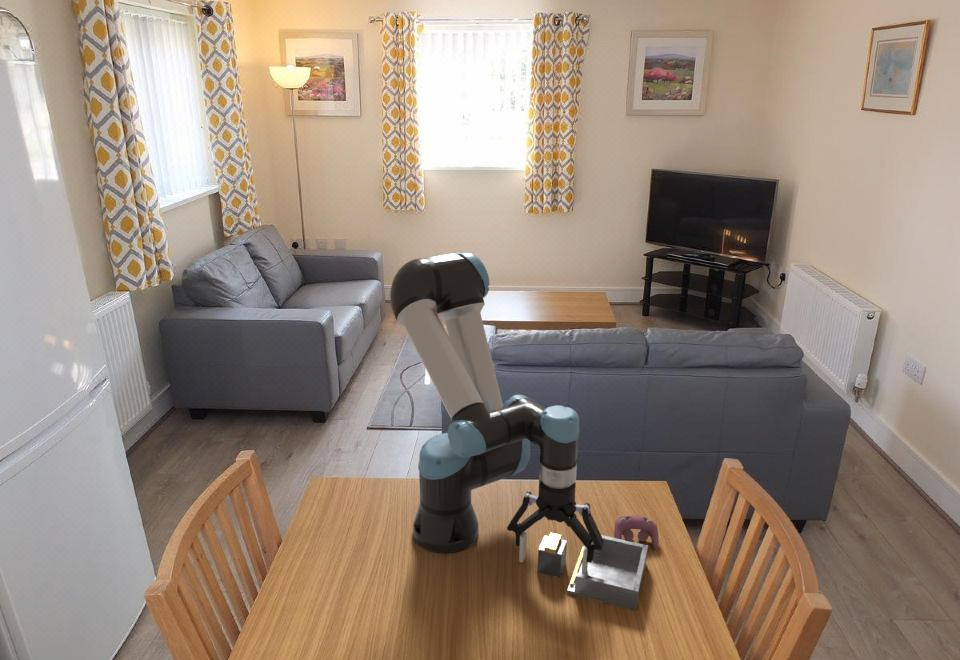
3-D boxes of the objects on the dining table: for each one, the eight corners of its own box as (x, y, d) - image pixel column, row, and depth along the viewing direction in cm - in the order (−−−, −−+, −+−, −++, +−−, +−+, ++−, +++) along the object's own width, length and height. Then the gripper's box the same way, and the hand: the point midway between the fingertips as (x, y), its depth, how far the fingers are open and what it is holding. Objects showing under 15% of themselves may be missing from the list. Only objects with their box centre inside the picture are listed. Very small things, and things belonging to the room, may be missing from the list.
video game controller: (656, 546, 158) (656, 515, 159) (659, 551, 154) (660, 519, 154) (612, 543, 159) (613, 513, 160) (614, 548, 155) (615, 516, 155)
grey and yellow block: (537, 572, 148) (538, 545, 145) (543, 557, 152) (544, 531, 150) (559, 578, 146) (561, 551, 143) (565, 562, 150) (567, 536, 148)
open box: (567, 593, 142) (568, 574, 140) (582, 548, 155) (584, 531, 153) (635, 610, 137) (638, 591, 136) (645, 563, 150) (648, 545, 149)
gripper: (493, 477, 142) (492, 563, 149) (615, 501, 134) (608, 590, 141) (504, 460, 148) (503, 542, 155) (621, 481, 141) (614, 567, 148)
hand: (553, 565), depth 148 cm, fingers open, 13 cm apart
